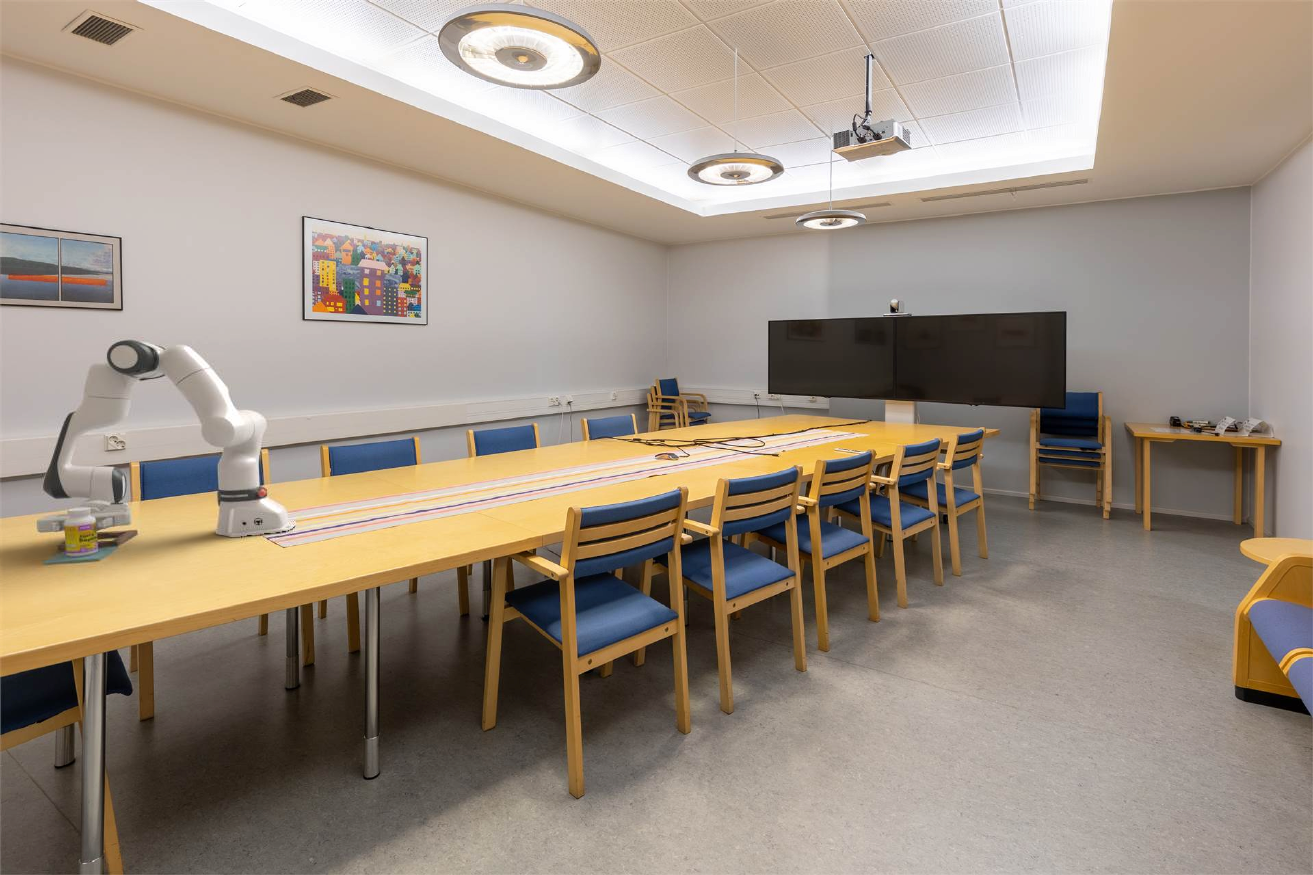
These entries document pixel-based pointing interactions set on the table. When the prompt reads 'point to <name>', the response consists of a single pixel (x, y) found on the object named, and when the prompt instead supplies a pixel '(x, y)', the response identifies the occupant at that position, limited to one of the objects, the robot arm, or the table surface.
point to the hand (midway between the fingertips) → (79, 526)
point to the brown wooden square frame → (121, 537)
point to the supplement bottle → (80, 533)
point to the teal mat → (93, 557)
